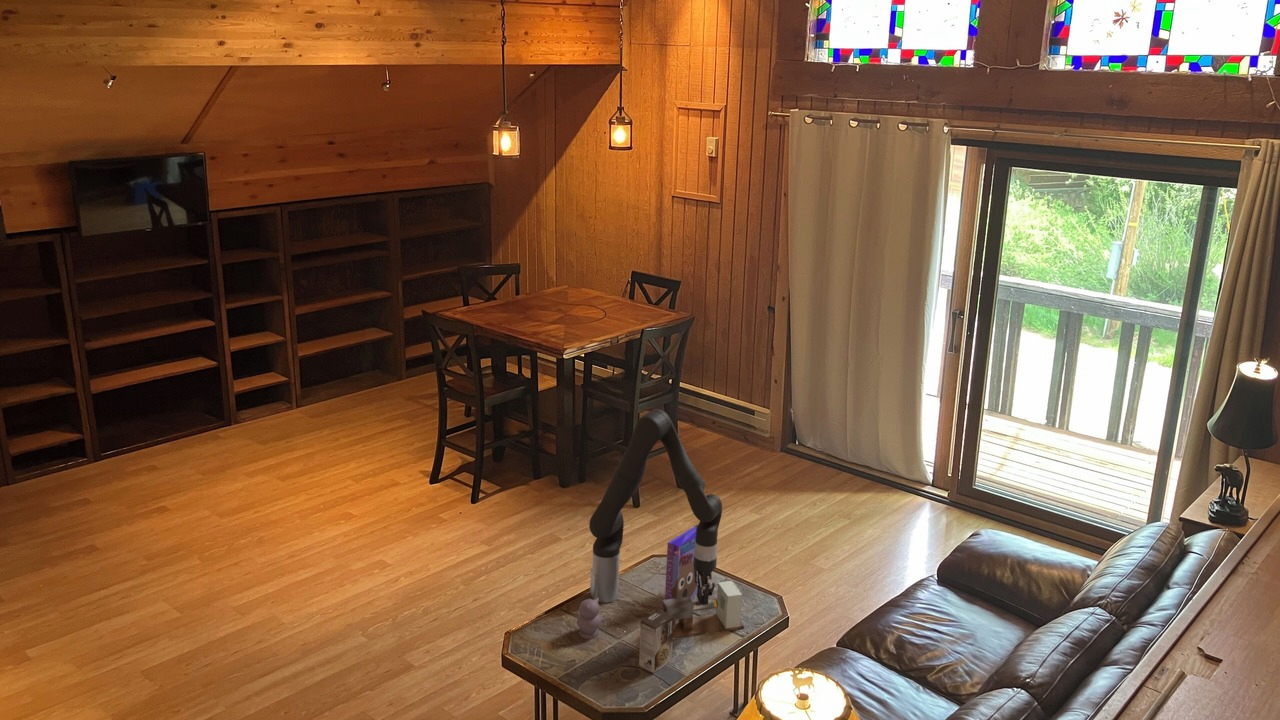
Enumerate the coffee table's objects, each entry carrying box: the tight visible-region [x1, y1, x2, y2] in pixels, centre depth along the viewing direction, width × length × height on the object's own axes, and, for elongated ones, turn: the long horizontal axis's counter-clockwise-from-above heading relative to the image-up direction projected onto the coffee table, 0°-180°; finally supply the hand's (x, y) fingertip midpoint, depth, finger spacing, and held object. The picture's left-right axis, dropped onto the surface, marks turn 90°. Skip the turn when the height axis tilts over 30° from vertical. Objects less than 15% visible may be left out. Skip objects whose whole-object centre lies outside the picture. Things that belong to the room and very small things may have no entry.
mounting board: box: [661, 597, 745, 639], centre depth 330 cm, size 27×9×10 cm, turn 107°
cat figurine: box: [576, 598, 603, 640], centre depth 323 cm, size 8×8×12 cm
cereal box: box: [664, 524, 698, 600], centre depth 345 cm, size 17×5×24 cm, turn 143°
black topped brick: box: [692, 586, 718, 612], centre depth 327 cm, size 16×3×8 cm, turn 107°
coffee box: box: [638, 608, 674, 674], centre depth 308 cm, size 9×6×16 cm
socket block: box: [715, 580, 743, 628], centre depth 332 cm, size 5×9×12 cm, turn 17°
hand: (702, 600), depth 328 cm, fingers closed on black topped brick, 3 cm apart
